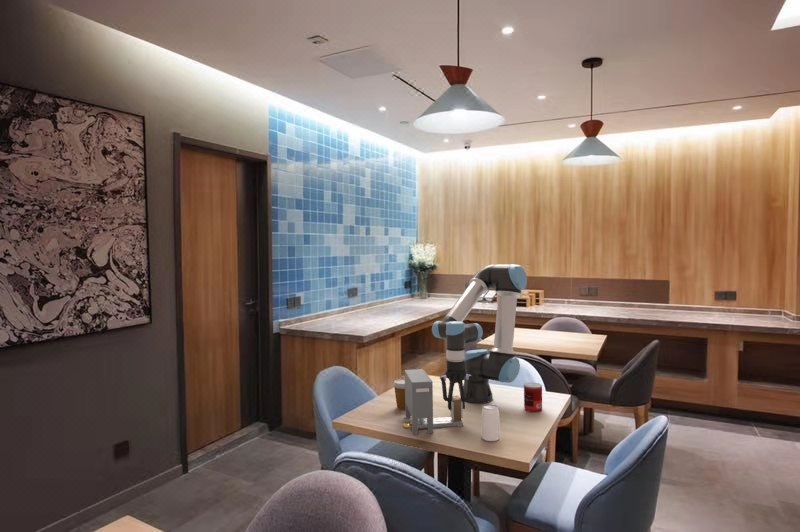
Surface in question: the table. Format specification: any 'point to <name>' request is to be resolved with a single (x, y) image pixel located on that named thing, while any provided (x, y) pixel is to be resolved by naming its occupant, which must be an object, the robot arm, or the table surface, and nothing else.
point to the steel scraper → (446, 420)
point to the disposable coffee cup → (400, 393)
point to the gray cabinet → (419, 398)
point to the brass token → (407, 424)
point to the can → (490, 422)
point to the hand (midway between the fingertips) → (456, 417)
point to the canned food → (533, 397)
